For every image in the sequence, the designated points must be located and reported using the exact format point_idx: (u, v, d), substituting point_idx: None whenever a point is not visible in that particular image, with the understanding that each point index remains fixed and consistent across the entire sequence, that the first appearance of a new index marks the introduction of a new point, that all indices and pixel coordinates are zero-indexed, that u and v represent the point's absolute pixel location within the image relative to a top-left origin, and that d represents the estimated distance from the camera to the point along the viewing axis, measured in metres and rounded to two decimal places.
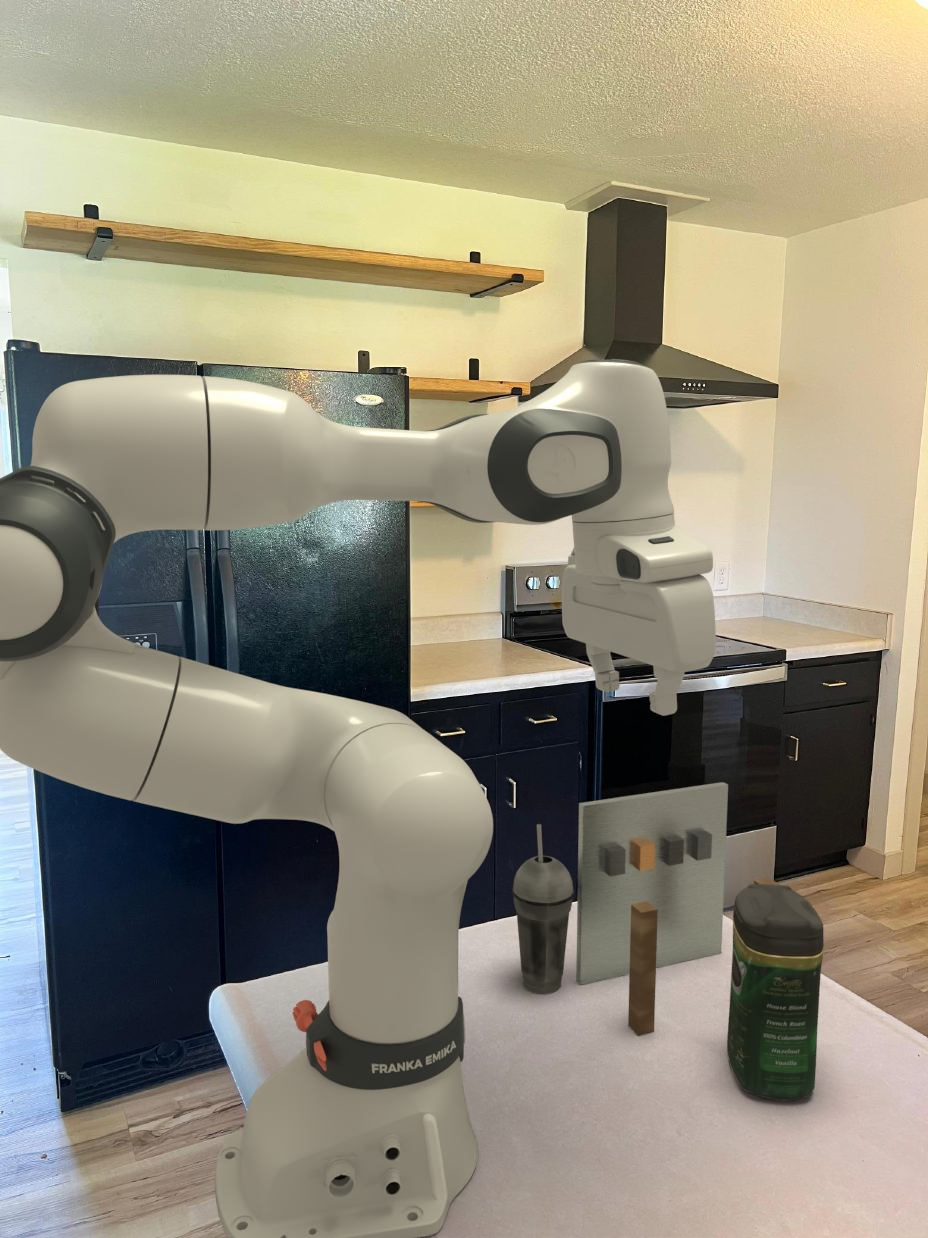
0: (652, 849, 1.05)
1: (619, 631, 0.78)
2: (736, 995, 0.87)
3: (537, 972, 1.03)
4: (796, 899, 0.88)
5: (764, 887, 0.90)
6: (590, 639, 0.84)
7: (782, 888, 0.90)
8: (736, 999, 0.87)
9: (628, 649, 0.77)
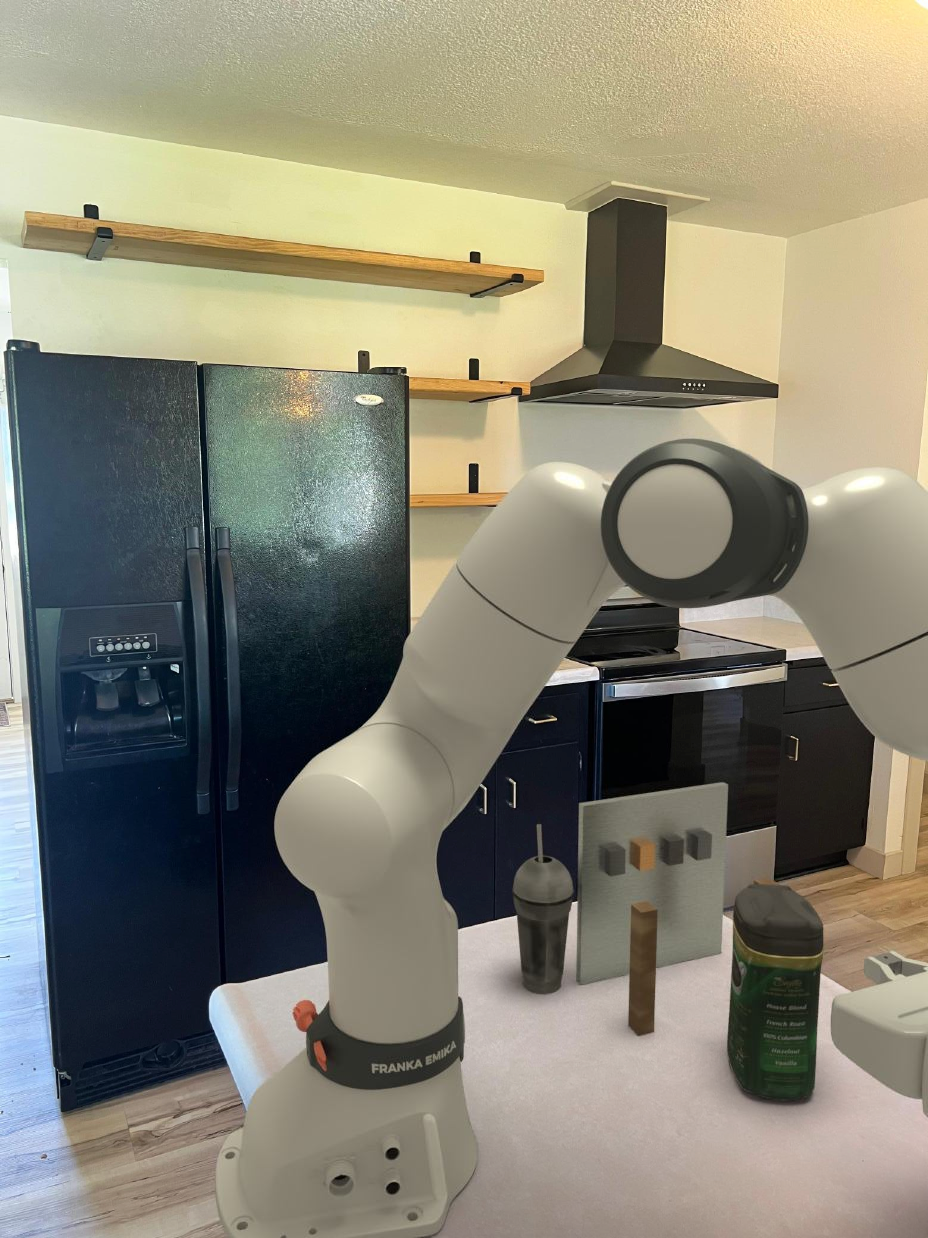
0: (652, 849, 1.05)
1: None
2: (736, 995, 0.87)
3: (537, 972, 1.03)
4: (796, 899, 0.88)
5: (764, 887, 0.90)
6: None
7: (782, 888, 0.90)
8: (736, 999, 0.87)
9: (909, 981, 0.70)
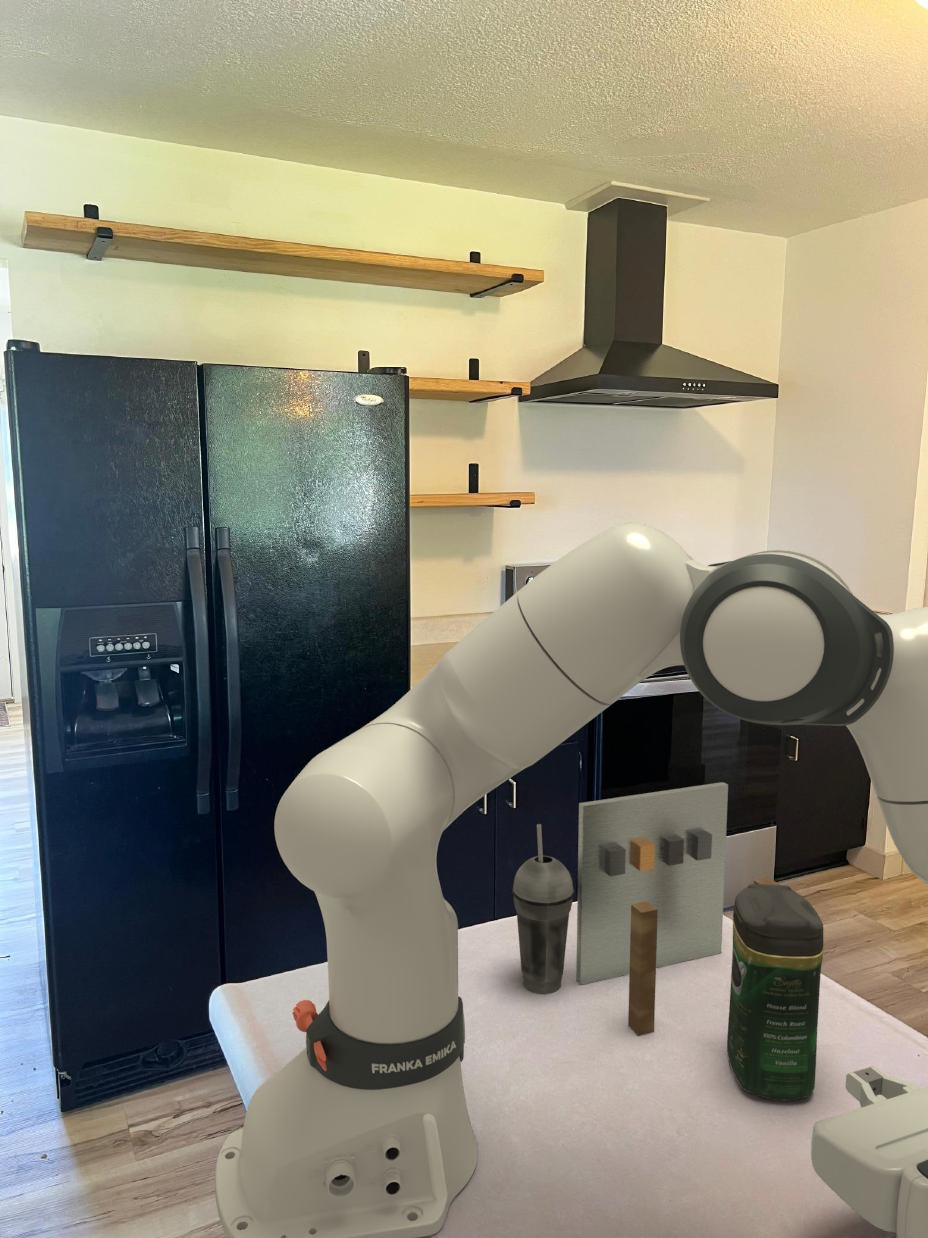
0: (652, 849, 1.05)
1: (914, 1113, 0.71)
2: (736, 995, 0.87)
3: (537, 972, 1.03)
4: (796, 899, 0.88)
5: (764, 887, 0.90)
6: None
7: (782, 888, 0.90)
8: (736, 999, 0.87)
9: (887, 1106, 0.72)
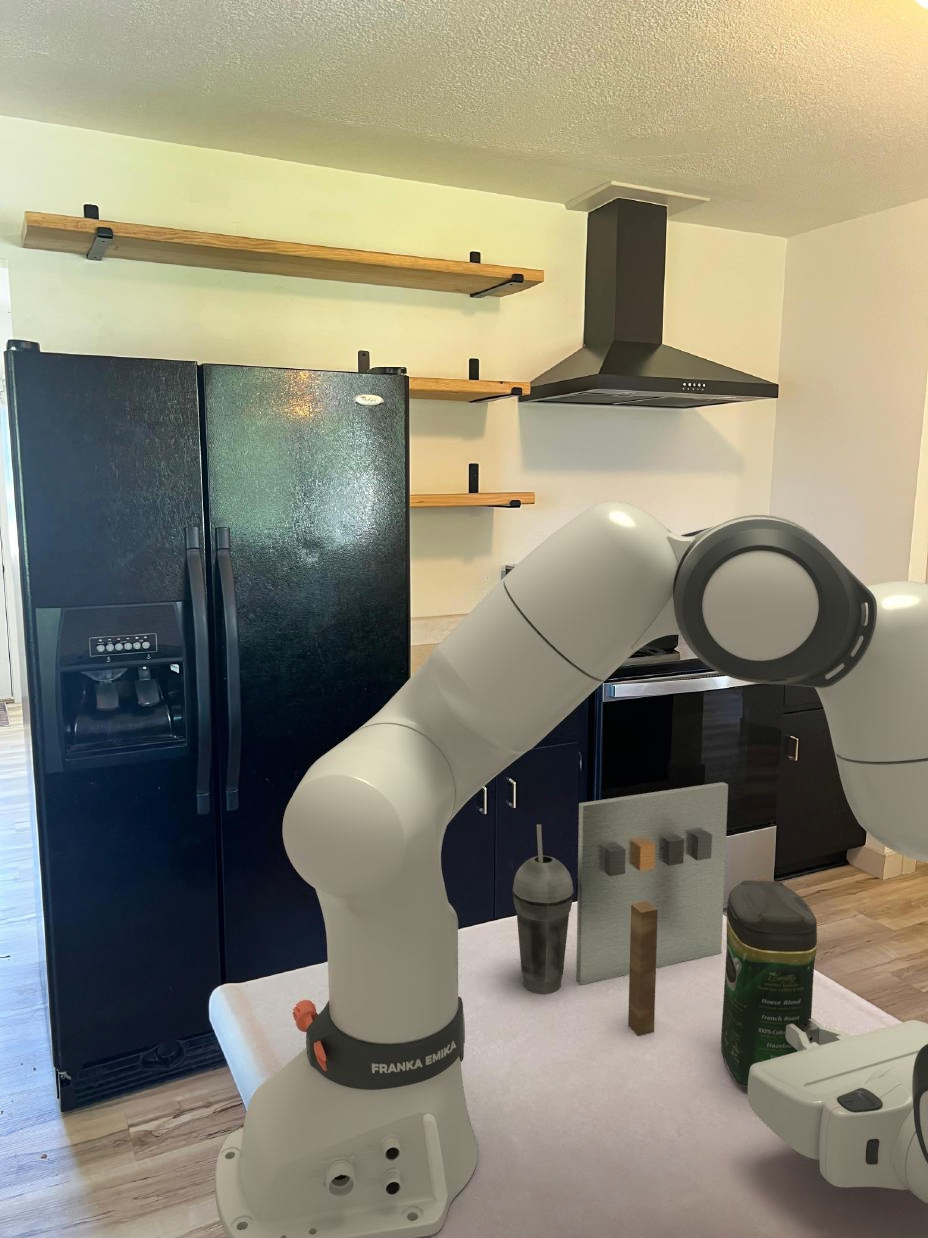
0: (652, 849, 1.05)
1: (842, 1056, 0.78)
2: (731, 991, 0.88)
3: (537, 972, 1.03)
4: (789, 895, 0.89)
5: (757, 883, 0.90)
6: (876, 1033, 0.82)
7: (775, 884, 0.90)
8: (731, 995, 0.88)
9: (819, 1050, 0.79)
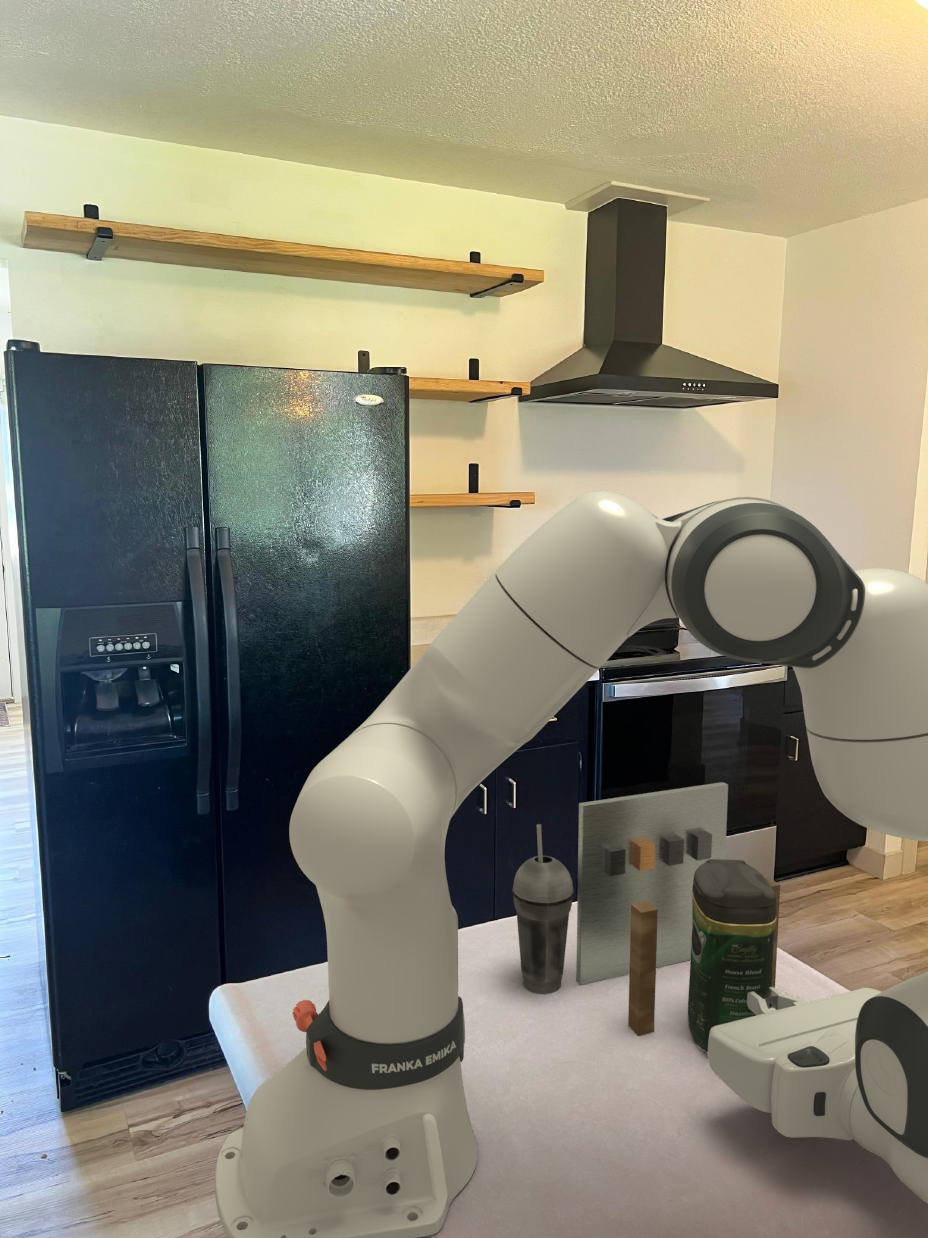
0: (652, 849, 1.05)
1: (797, 1020, 0.83)
2: (696, 963, 0.93)
3: (537, 972, 1.03)
4: (750, 872, 0.94)
5: (721, 862, 0.96)
6: (831, 999, 0.87)
7: (737, 862, 0.96)
8: (696, 967, 0.93)
9: (776, 1014, 0.84)
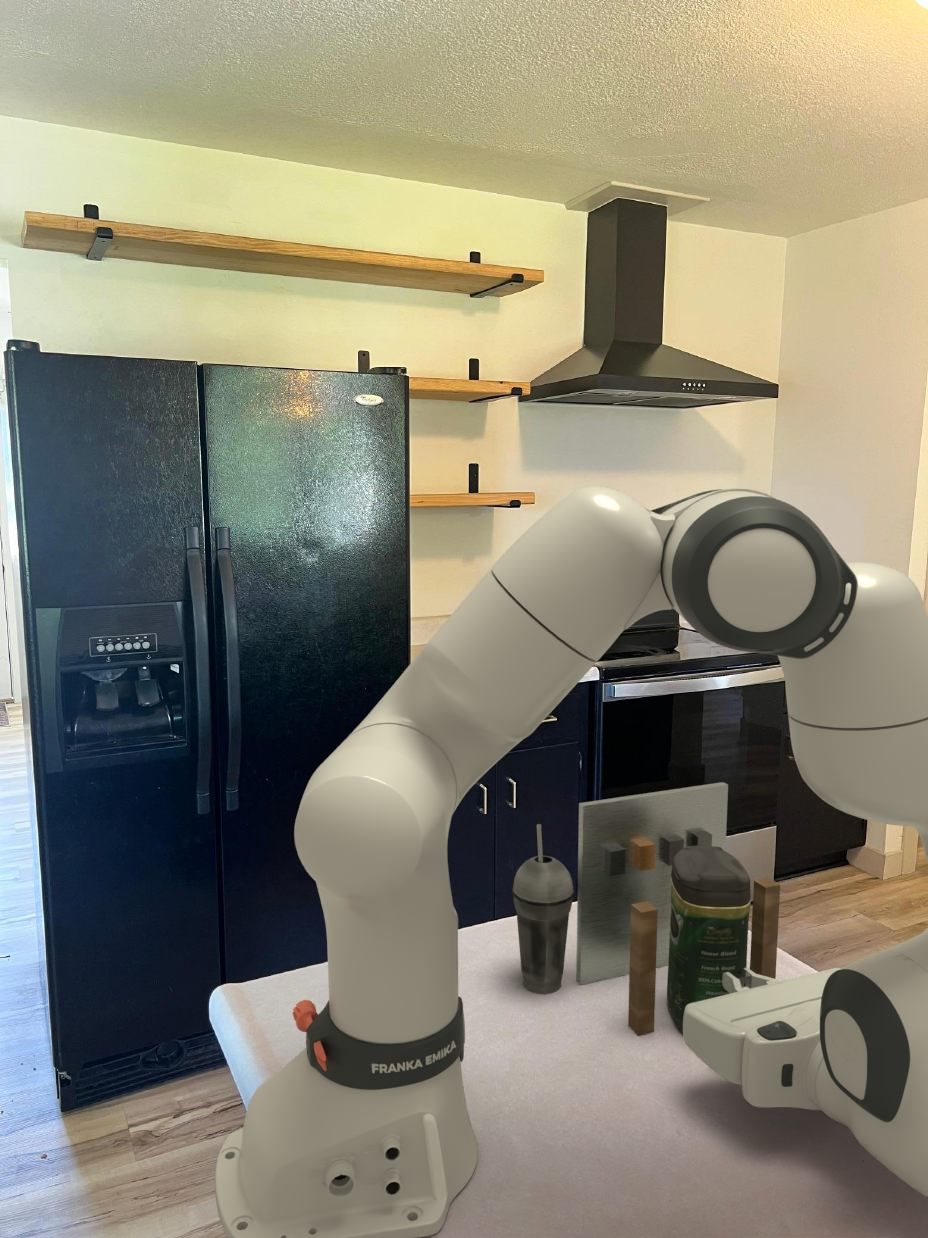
0: (652, 849, 1.05)
1: (769, 997, 0.87)
2: (674, 945, 0.97)
3: (537, 972, 1.03)
4: (726, 857, 0.98)
5: (698, 848, 0.99)
6: (802, 978, 0.90)
7: (714, 848, 0.99)
8: (674, 949, 0.97)
9: (748, 993, 0.88)
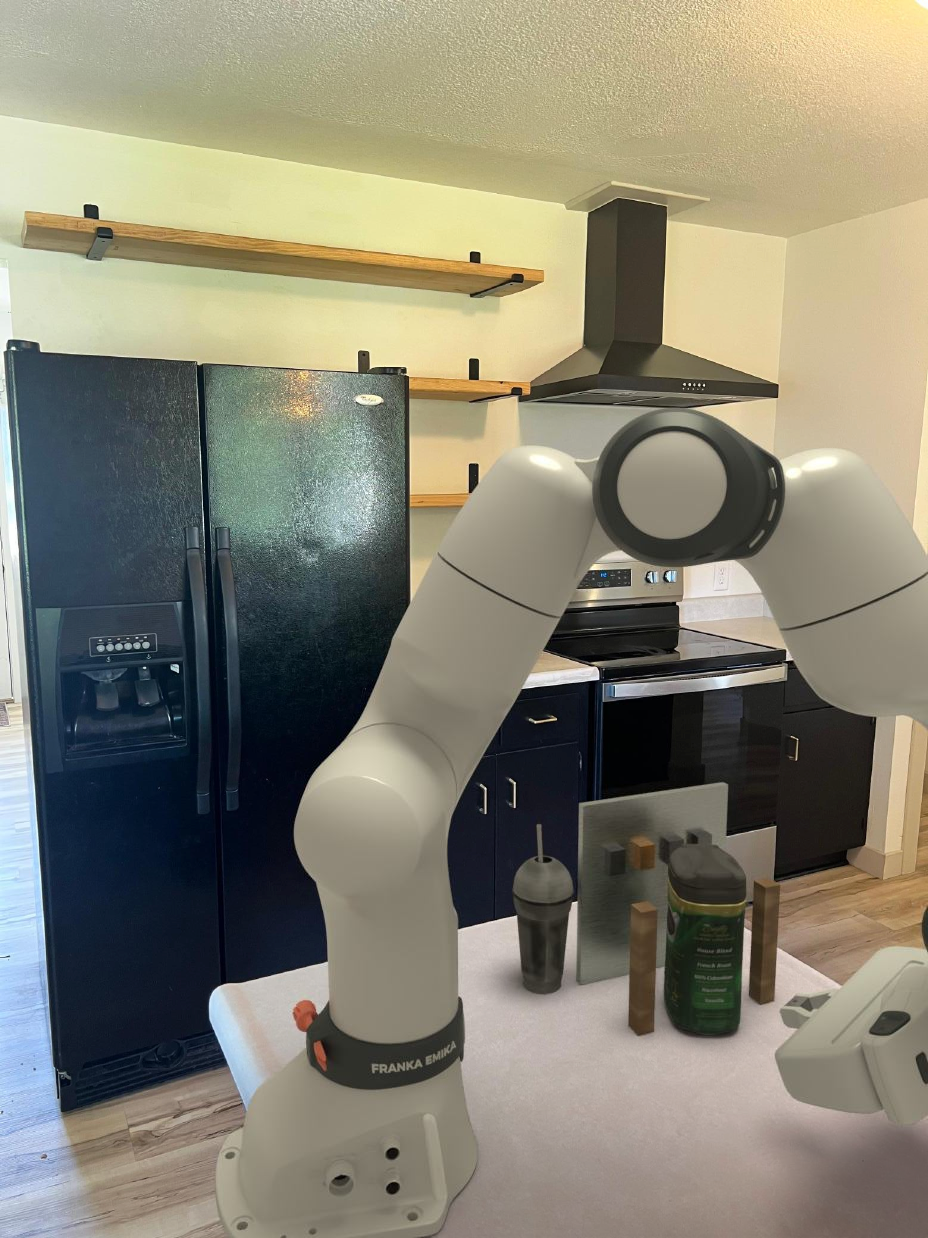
0: (652, 849, 1.05)
1: (846, 1004, 0.75)
2: (671, 943, 0.97)
3: (537, 972, 1.03)
4: (723, 855, 0.98)
5: (695, 846, 1.00)
6: (859, 973, 0.80)
7: (711, 846, 1.00)
8: (671, 946, 0.98)
9: (823, 1010, 0.75)
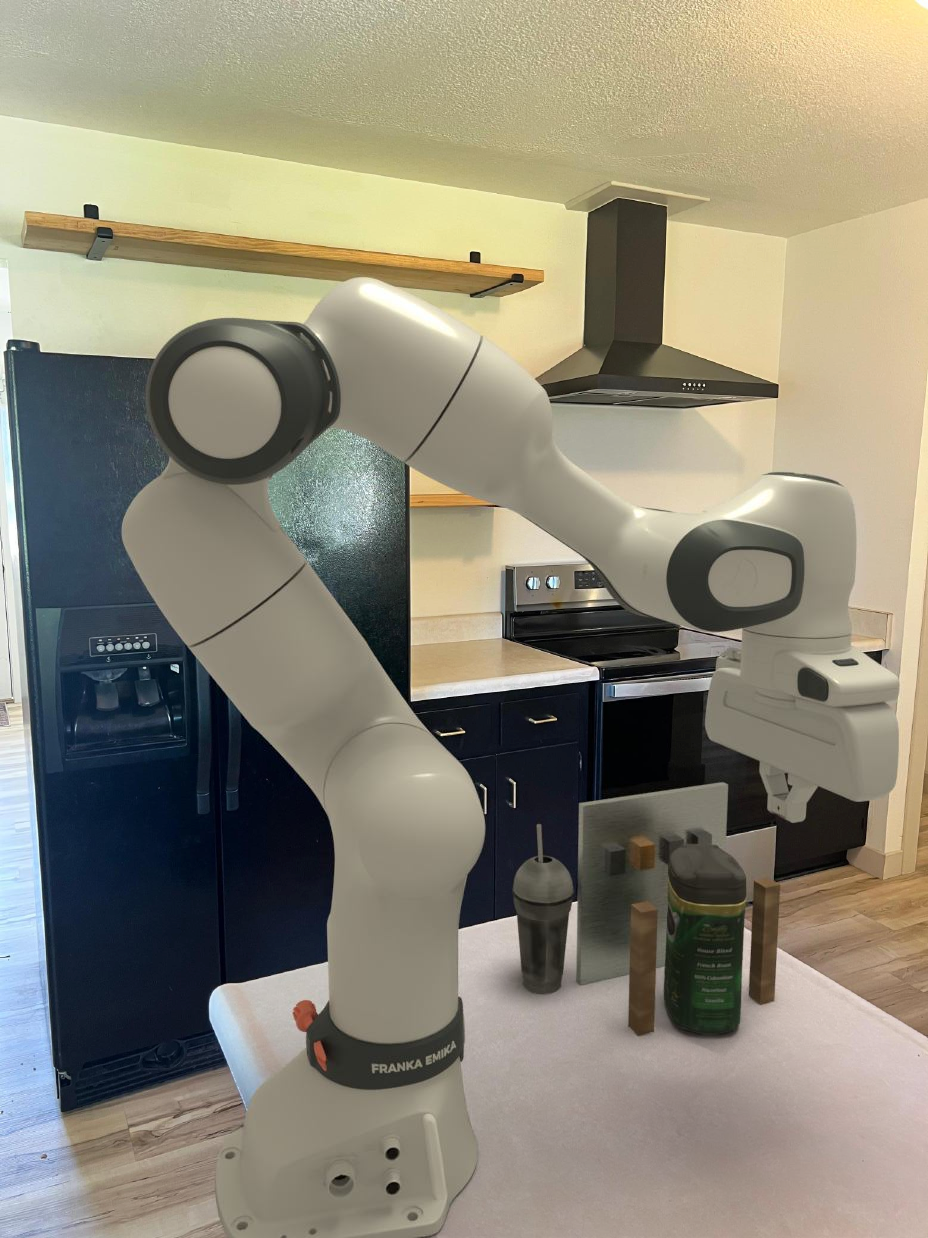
0: (652, 849, 1.05)
1: (783, 746, 0.76)
2: (670, 943, 0.97)
3: (537, 972, 1.03)
4: (723, 855, 0.98)
5: (695, 846, 1.00)
6: (741, 747, 0.82)
7: (711, 846, 1.00)
8: (671, 946, 0.98)
9: (793, 767, 0.75)
